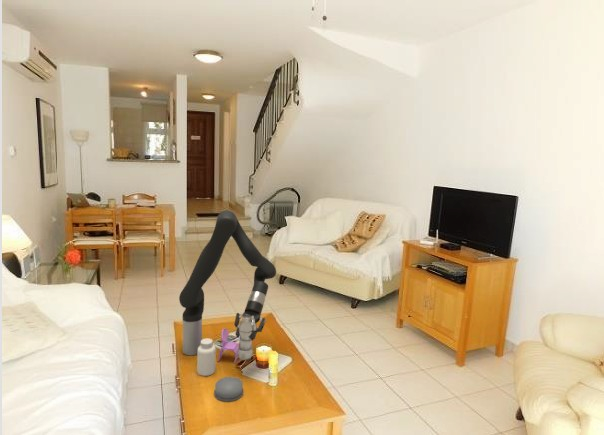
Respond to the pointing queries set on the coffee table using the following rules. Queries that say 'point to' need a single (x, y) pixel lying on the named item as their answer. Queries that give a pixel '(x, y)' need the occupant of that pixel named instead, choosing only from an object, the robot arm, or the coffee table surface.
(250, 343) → the plastic bottle
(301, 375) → the coffee table surface
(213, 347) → the pill bottle
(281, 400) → the coffee table surface
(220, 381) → the slate plinth
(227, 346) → the toy chair
